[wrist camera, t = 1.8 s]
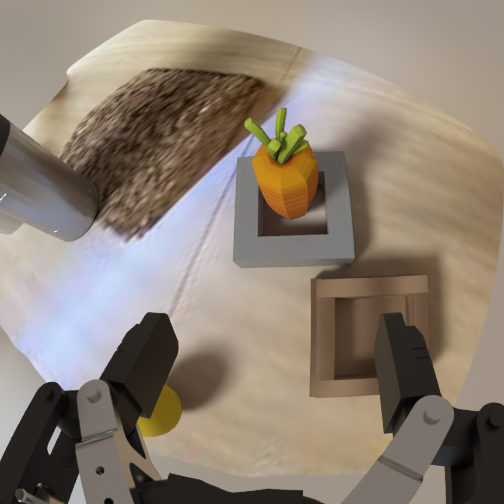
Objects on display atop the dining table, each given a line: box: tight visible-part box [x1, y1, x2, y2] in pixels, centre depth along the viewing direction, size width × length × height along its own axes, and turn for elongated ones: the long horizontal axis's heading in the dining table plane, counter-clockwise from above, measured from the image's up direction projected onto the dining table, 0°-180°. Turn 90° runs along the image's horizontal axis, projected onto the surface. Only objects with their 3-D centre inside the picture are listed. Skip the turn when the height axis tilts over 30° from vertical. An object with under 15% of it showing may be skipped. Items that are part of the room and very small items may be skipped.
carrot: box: [245, 108, 319, 220], centre depth 24 cm, size 5×5×15 cm
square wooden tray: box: [310, 274, 430, 398], centre depth 25 cm, size 11×11×4 cm
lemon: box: [137, 384, 182, 437], centre depth 25 cm, size 6×6×8 cm
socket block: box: [233, 152, 355, 268], centre depth 30 cm, size 11×11×3 cm
